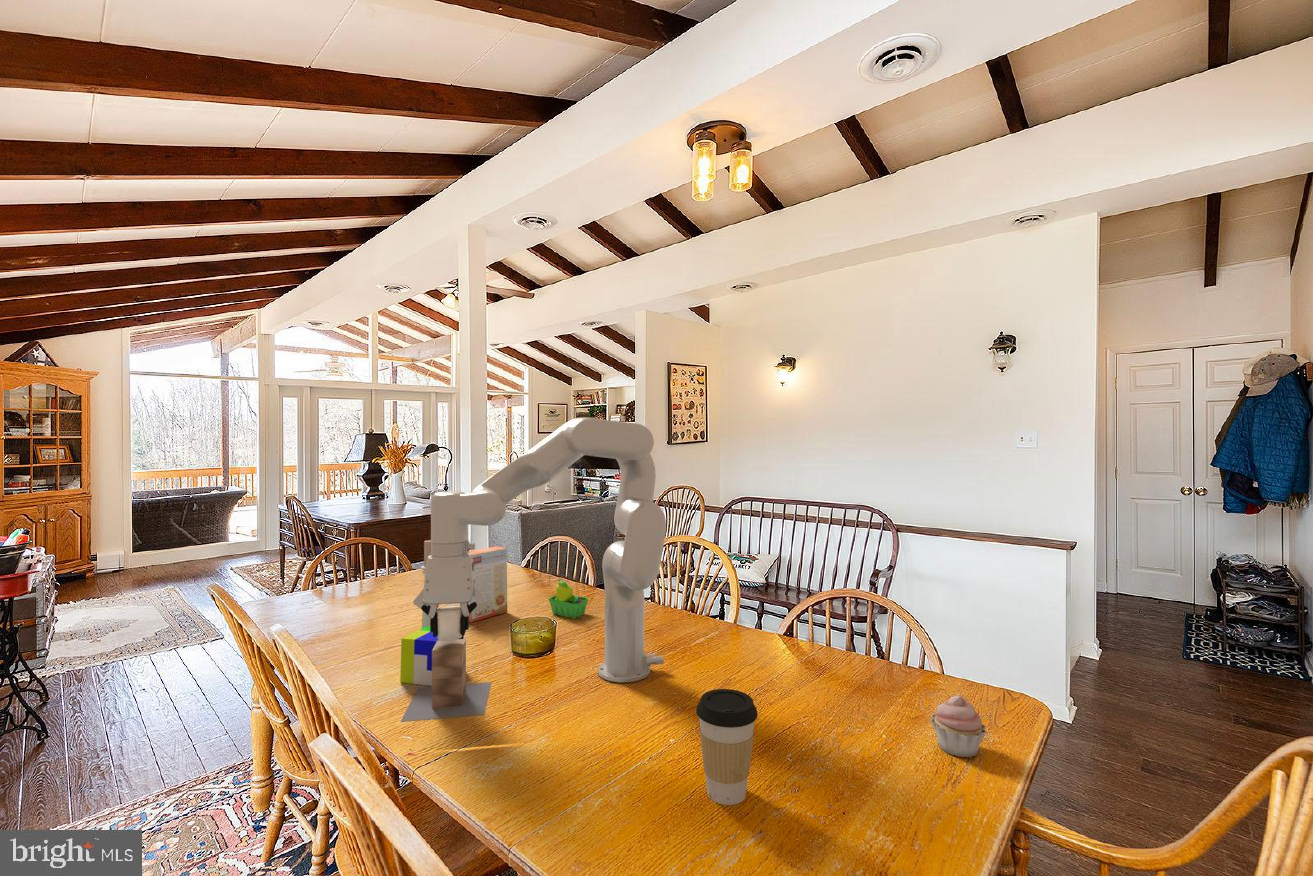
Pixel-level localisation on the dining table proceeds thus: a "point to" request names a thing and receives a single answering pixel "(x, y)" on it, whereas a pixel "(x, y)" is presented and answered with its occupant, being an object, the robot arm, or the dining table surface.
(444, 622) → the ceramic cylinder
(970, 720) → the cupcake
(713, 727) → the coffee cup
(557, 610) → the fruit basket
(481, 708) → the mat
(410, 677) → the puzzle toy
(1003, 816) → the dining table surface
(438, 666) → the tower top
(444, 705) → the block
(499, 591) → the cracker box
